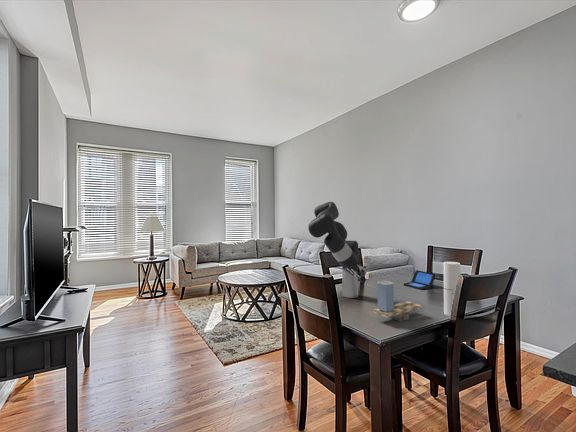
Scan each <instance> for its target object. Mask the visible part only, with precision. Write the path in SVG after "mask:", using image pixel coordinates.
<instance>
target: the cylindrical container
mask: <svg viewBox="0 0 576 432" xmlns="http://www.w3.org/2000/svg"><path fill="white" fill-rule="evenodd" d="M442 264H443V314H444V315H445V316H449V317H451V316H450V315H451V310H452V304H453V299H454V295H455V290H456V285H457V280H458V276H459V275H460V276H461V263H460V262H458V261H444V262H443V263H442Z"/></svg>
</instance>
